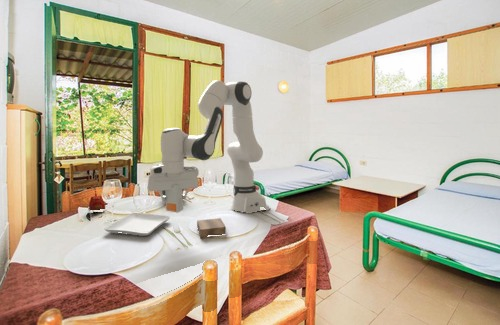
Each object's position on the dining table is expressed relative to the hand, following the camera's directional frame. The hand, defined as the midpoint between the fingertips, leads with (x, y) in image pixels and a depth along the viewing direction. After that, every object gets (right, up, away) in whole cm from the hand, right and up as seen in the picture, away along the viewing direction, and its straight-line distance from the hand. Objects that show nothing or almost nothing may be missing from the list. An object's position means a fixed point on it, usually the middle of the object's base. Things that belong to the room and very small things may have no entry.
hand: (174, 199), depth 109 cm
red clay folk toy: (-51, -12, +32) cm, 62 cm away
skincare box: (0, -5, +1) cm, 5 cm away
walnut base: (+14, -16, +8) cm, 23 cm away
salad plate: (-19, -15, +12) cm, 27 cm away
